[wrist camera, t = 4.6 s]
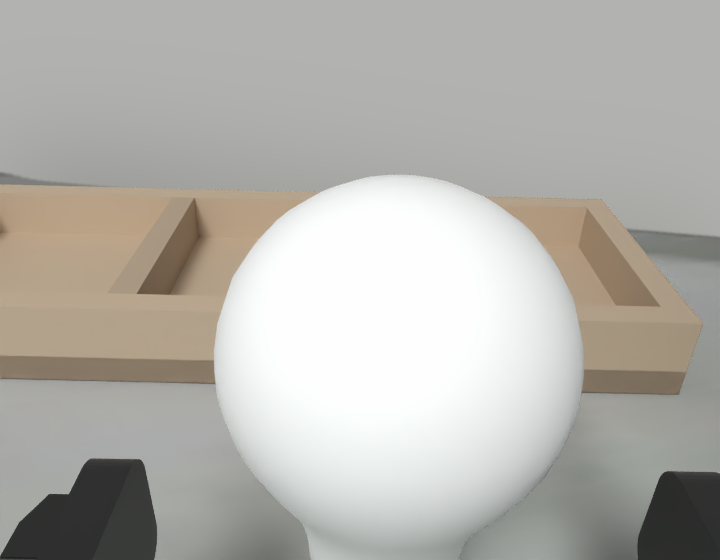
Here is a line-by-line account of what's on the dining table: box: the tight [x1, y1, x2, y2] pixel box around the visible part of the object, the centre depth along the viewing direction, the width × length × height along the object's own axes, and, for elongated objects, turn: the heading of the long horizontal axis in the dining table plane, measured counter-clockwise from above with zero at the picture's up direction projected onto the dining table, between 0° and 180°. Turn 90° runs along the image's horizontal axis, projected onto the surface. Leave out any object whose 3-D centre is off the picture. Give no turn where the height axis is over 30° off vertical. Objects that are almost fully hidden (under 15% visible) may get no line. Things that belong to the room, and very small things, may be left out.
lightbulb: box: [214, 175, 584, 560], centre depth 12 cm, size 6×6×11 cm
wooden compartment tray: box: [0, 185, 703, 394], centre depth 26 cm, size 30×10×3 cm, turn 90°
